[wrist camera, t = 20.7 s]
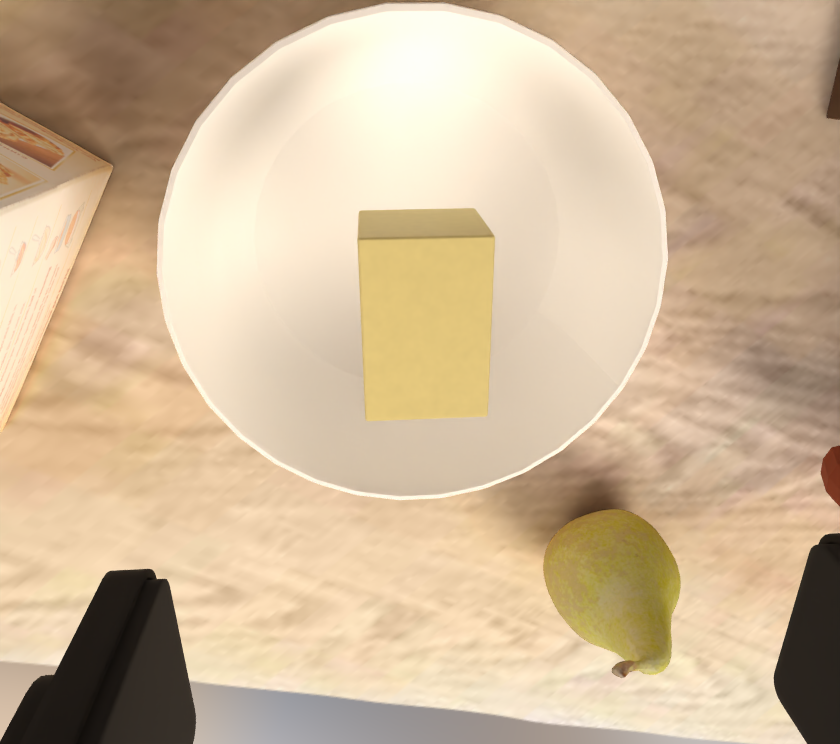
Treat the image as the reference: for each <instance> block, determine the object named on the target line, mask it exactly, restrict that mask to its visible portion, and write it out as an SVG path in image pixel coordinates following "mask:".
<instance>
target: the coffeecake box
mask: <svg viewBox="0 0 840 744" xmlns="http://www.w3.org/2000/svg"><path fill="white" fill-rule="evenodd" d="M112 170H113V165H111V164H110V163H108V162H106V161H104V160H102V159H100V158H99V157H97V156H95V155H93V154H92V153H90V152H88V151H86V150H85V149H83V148H81V147H79V146H78V145H76V144H74V143H72V142H71V141H69V140H67V139H65V138H63V137H62V136H60V135H58V134H56V133H54V132H53V131H51V130H49V129H47V128H45V127H44V126H42V125H40V124H38V123H36V122H35V121H33V120H31V119H29V118H27V117H25V116H24V115H22V114H20V113H18V112H16V111H14V110H13V109H11V108H9V107H8V106H6V105H4V104H3V103H1V102H0V433H1V432H2V430H3V428H4V426H5V424H6V422H7V420H8V418H9V415H10V413H11V411H12V409H13V406H14V404H15V402H16V400H17V397H18V395H19V393H20V391H21V388H22V386H23V383H24V381H25V379H26V376H27V374H28V372H29V369H30V367H31V365H32V362H33V360H34V357H35V355H36V352H37V350H38V347H39V345H40V343H41V340H42V338H43V335H44V333H45V330H46V328H47V326H48V324H49V321H50V319H51V317H52V314H53V312H54V310H55V307H56V305H57V303H58V300H59V298H60V295H61V293H62V290H63V288H64V286H65V283H66V281H67V279H68V276H69V274H70V271H71V269H72V267H73V264H74V262H75V259H76V257H77V255H78V252H79V250H80V247H81V245H82V242H83V240H84V238H85V235H86V233H87V230H88V228H89V225H90V223H91V221H92V218H93V216H94V213H95V211H96V209H97V206H98V204H99V202H100V199H101V197H102V194H103V192H104V189H105V187H106V184H107V182H108V179H109V177H110V175H111V172H112Z"/></svg>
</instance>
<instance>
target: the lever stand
mask: <svg viewBox="0 0 840 744" xmlns="http://www.w3.org/2000/svg"><path fill="white" fill-rule="evenodd" d="M827 118H831V119H838V120H840V60H839V64H838V69H837V73H836V77H835V82H834V86H833V91H832V95H831V99H830V104H829V108H828V113H827Z"/></svg>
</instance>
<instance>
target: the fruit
mask: <svg viewBox="0 0 840 744" xmlns="http://www.w3.org/2000/svg"><path fill="white" fill-rule="evenodd" d="M543 570H544V577H545V582H546V586H547V589H548V592H549V594H550V597H551V599H552V601H553V603H554V605H555V607H556V608H557V610H558V612H559V613H560V615H561V616H562V617H563V619H564V620H565V621H566V622H567V624H568V625H569V626H570V627H571V628H572V629H573V630H574V631H575V632H576V633H577V634H578V635H579V636H580V637H581V638H583V639H584V640H586V641H588V642H589V643H591V644H594V645H596V646H599V647H602V648H604V649H607V650H610V651H612V652H615V653H617V654H618V655H620V656H621V657H622V658H623V659H624V660H626V661H622V662H619V663H617V664H616V665H615V666H614V667H613V668H612V673H613V674H614V675H616V676H618V677H620V678H624V677H626V675H627V674H628V673H629V672H632V671H638V670H639V671H640V672H642V673H643V674H649V675H656V674H658V673H660V672H662V671H664V670H665V668H666V667H667V666H668V664H669V663H670V659H671V648H672V640H671V616H672V613H673V611H674V609H675V607H676V604H677V601H678V598H679V593H680V574H679V570H678V566H677V564H676V561H675V559H674V557H673V555H672V553H671V551H670V550H669V548H668V546H667V545H666V543H665V542H664V540H663V539H662V538H661V536H660V535H659V533H658V532H657V531H656V530H655V529H654V528H653V527H652V526H651V525H650V524H649V523H648V522H647V521H645V520H644V519H642V518H641V517H639V516H637V515H635V514H633V513H631V512H629V511H625V510H620V509H608V510H602V511H597V512H593V513H590V514H587V515H584V516H581V517H579V518H576V519H574V520H572V521H570V522H569V523H567V524H566V525H565V526H564V527H562V528H561V529H560V530H559V531H558V532H557V533H556V534H555V535H554V537H553V538H552V539H551V541H550V543H549V544H548V546H547V549H546V552H545V556H544V564H543Z"/></svg>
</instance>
